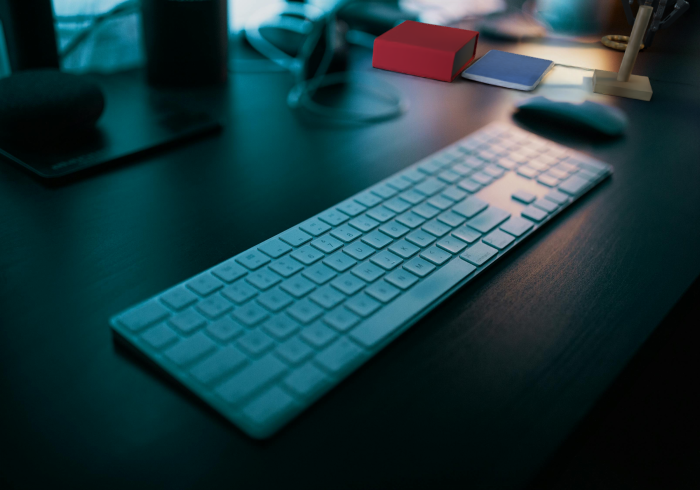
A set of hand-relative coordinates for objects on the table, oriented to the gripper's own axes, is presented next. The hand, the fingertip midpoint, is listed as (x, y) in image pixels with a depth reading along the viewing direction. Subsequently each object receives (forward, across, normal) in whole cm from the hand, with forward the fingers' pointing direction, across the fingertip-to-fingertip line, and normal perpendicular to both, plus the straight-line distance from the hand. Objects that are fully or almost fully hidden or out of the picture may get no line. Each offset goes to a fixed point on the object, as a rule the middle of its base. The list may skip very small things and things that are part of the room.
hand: (639, 47), depth 122 cm
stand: (+1, -5, -28) cm, 29 cm away
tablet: (+1, -24, -29) cm, 38 cm away
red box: (+1, -39, -31) cm, 50 cm away
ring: (0, -4, 0) cm, 4 cm away
